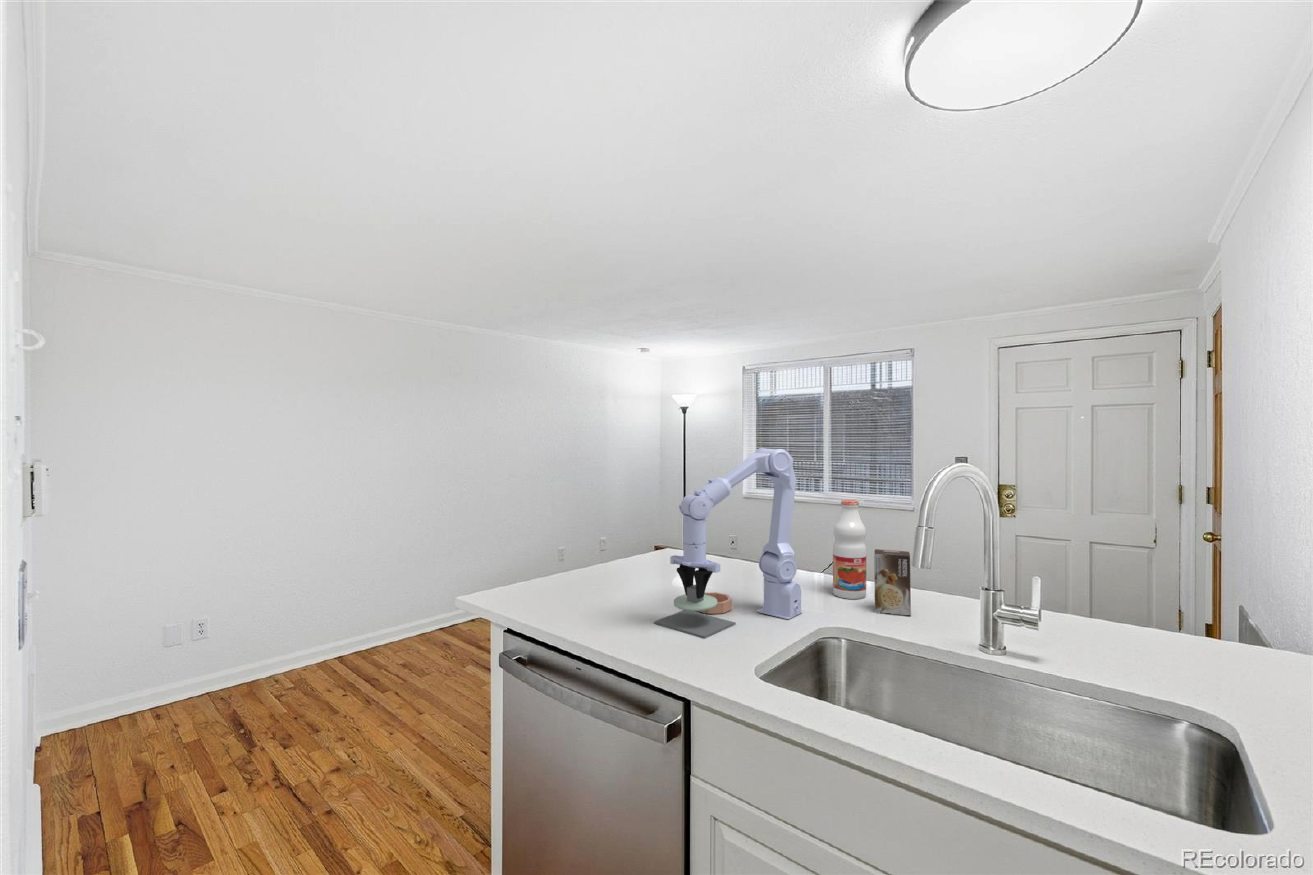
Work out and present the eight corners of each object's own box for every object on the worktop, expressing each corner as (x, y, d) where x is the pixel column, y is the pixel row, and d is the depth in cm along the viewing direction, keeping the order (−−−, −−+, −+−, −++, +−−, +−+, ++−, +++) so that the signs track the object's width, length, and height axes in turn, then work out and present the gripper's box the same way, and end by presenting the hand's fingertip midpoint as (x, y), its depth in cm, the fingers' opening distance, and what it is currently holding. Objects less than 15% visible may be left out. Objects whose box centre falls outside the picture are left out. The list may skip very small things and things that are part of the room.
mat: (735, 624, 149) (735, 622, 149) (704, 638, 139) (704, 636, 139) (685, 611, 159) (685, 609, 159) (654, 623, 150) (654, 621, 150)
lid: (725, 602, 150) (725, 585, 150) (699, 614, 142) (699, 596, 141) (691, 594, 157) (691, 578, 157) (664, 605, 149) (664, 588, 149)
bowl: (737, 608, 162) (737, 597, 162) (716, 617, 155) (716, 605, 155) (708, 600, 169) (708, 590, 169) (686, 609, 161) (686, 598, 161)
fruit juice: (857, 590, 179) (858, 498, 179) (871, 599, 170) (872, 502, 169) (827, 591, 178) (828, 498, 178) (840, 600, 169) (840, 503, 169)
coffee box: (910, 610, 160) (910, 551, 160) (911, 617, 154) (911, 556, 154) (874, 606, 164) (874, 548, 163) (873, 612, 158) (874, 553, 158)
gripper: (662, 541, 151) (662, 594, 151) (708, 549, 141) (708, 605, 141) (680, 537, 156) (679, 588, 156) (725, 544, 146) (725, 599, 147)
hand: (694, 596), depth 149 cm, fingers closed on lid, 3 cm apart
